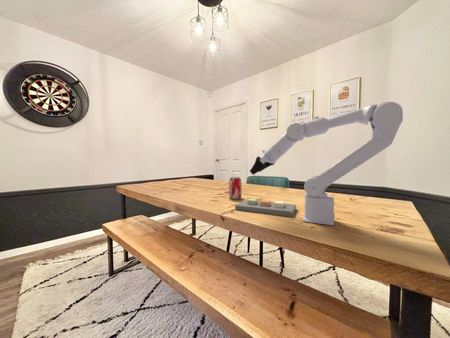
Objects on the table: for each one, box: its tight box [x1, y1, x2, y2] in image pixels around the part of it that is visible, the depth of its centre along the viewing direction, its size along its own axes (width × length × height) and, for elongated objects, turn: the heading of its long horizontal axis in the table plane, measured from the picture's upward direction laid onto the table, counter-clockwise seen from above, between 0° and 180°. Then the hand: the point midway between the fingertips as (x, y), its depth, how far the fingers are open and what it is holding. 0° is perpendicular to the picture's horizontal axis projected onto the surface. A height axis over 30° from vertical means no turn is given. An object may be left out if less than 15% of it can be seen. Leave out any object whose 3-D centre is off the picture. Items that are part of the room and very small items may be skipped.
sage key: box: [246, 198, 259, 205], centre depth 84 cm, size 4×4×2 cm
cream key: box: [273, 200, 286, 208], centre depth 78 cm, size 4×4×2 cm
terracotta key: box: [259, 199, 271, 207], centre depth 81 cm, size 4×4×2 cm
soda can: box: [228, 176, 243, 200], centre depth 105 cm, size 7×7×12 cm
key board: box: [234, 199, 297, 218], centre depth 81 cm, size 24×12×2 cm, turn 62°
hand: (254, 171), depth 79 cm, fingers open, 7 cm apart
